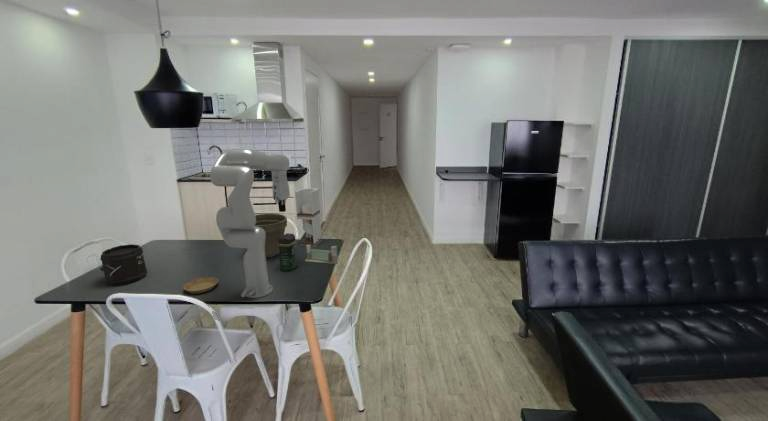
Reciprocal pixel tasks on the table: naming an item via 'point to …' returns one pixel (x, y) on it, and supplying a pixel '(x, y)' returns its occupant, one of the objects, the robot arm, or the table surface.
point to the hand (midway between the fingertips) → (282, 211)
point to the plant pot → (272, 231)
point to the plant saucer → (200, 285)
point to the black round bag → (123, 264)
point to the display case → (309, 215)
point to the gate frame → (331, 257)
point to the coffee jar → (287, 252)
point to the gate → (320, 254)
